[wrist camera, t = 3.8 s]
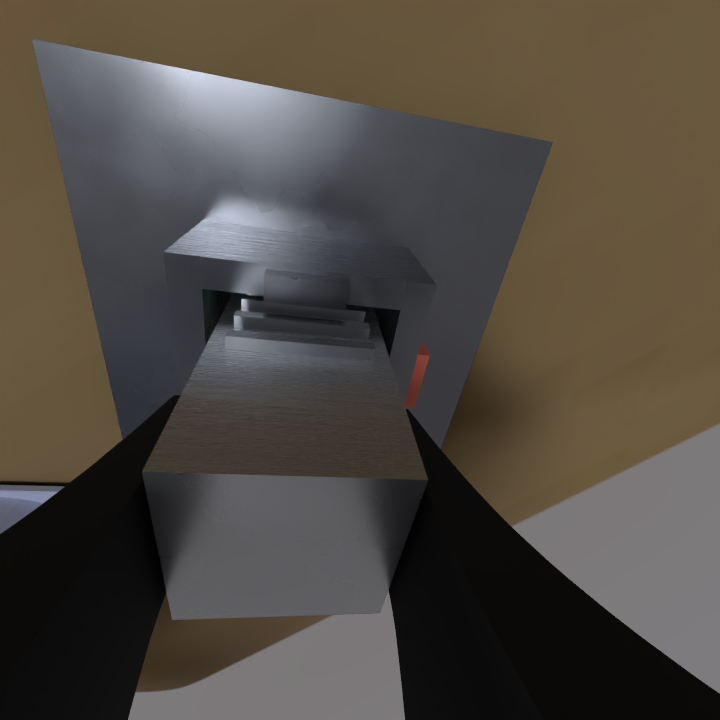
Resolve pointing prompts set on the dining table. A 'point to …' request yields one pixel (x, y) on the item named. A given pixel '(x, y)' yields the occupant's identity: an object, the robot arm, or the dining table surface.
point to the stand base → (278, 219)
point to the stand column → (285, 468)
